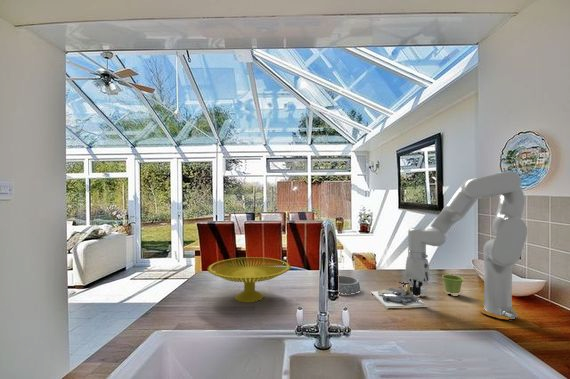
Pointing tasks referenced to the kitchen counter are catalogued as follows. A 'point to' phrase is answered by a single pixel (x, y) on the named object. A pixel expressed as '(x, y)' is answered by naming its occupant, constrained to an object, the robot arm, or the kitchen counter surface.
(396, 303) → the base plate
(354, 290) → the dog bowl
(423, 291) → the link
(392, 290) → the sprocket
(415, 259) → the robot arm
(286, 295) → the kitchen counter surface
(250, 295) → the cake stand
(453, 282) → the plant pot
